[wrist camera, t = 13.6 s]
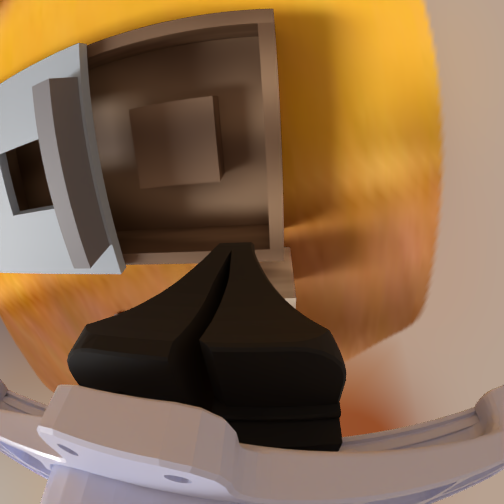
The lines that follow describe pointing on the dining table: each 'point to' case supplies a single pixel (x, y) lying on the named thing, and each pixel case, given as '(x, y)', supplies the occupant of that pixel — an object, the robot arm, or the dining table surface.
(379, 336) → the dining table surface
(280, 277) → the wooden block
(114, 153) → the toolbox
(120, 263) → the toolbox lid
